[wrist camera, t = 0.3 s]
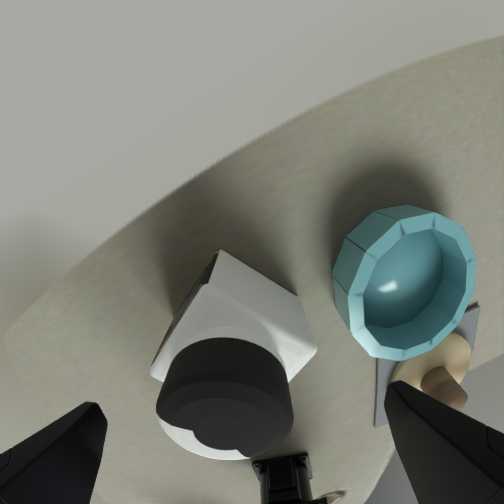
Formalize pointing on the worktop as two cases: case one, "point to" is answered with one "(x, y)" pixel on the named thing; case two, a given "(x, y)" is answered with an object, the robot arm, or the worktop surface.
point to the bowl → (403, 280)
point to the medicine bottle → (231, 363)
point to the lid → (438, 371)
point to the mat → (387, 366)
